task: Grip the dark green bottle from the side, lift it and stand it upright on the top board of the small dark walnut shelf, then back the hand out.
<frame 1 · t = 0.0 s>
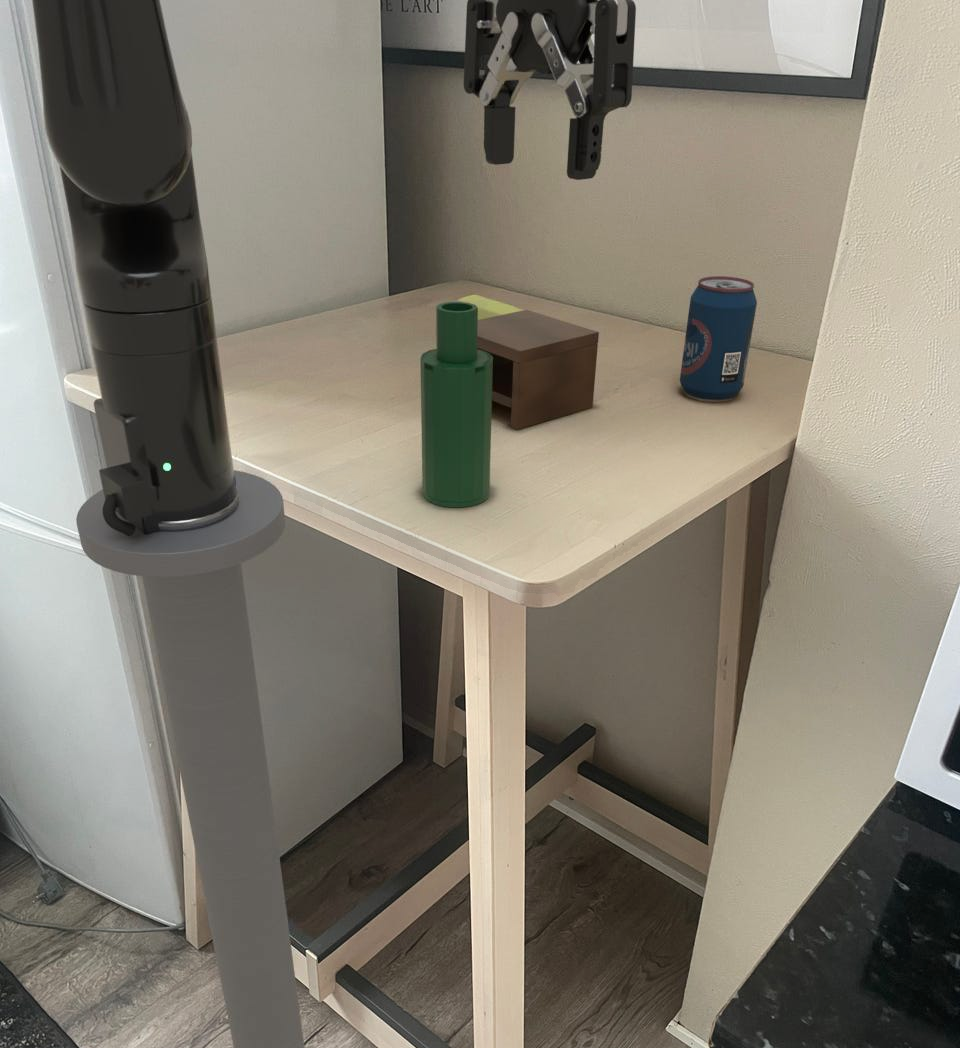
hand: (539, 170, 70), 26 cm above the table, tool pointing down, fingers open, 8 cm apart
yellow green block: (509, 342, 126), on the table
soda can: (709, 395, 110), on the table
bottle: (456, 493, 86), on the table
shelf: (520, 404, 106), on the table
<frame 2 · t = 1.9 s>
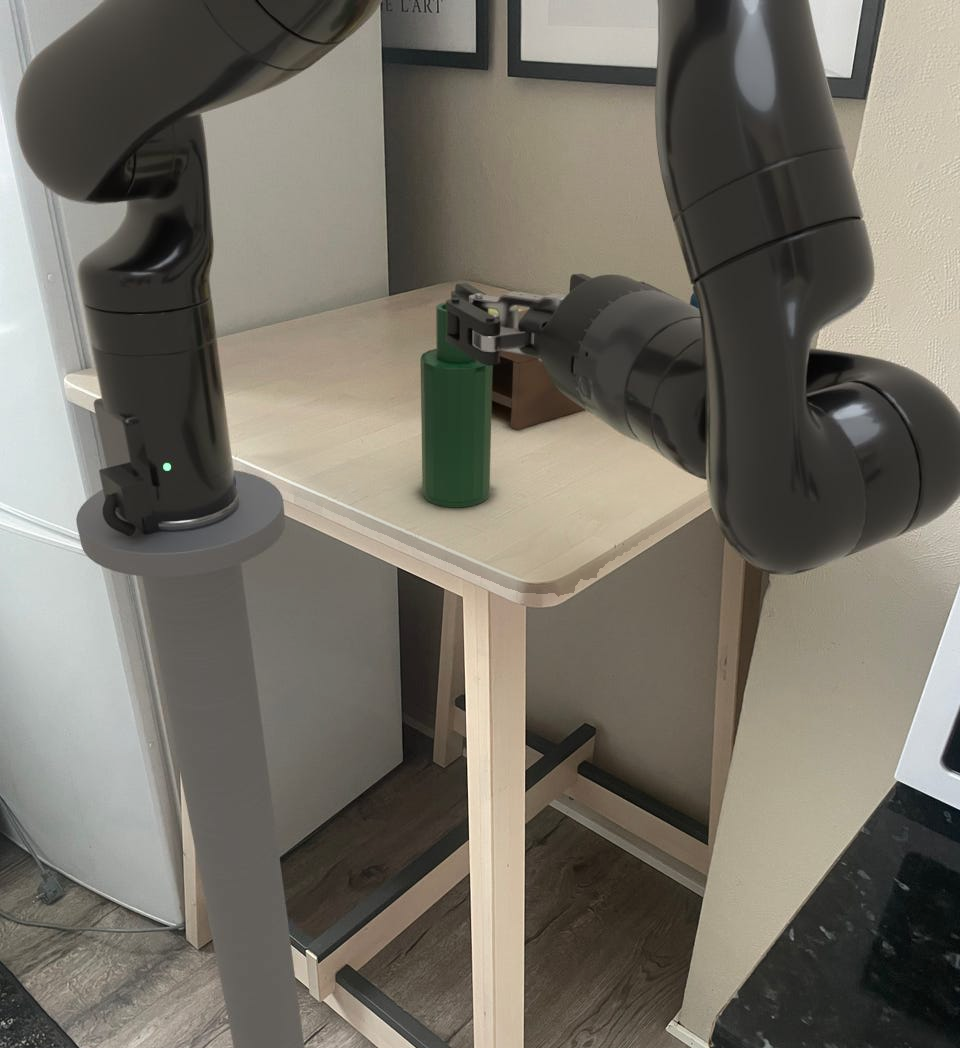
hand: (517, 293, 67), 20 cm above the table, tool horizontal, fingers open, 8 cm apart
nothing on the table moved.
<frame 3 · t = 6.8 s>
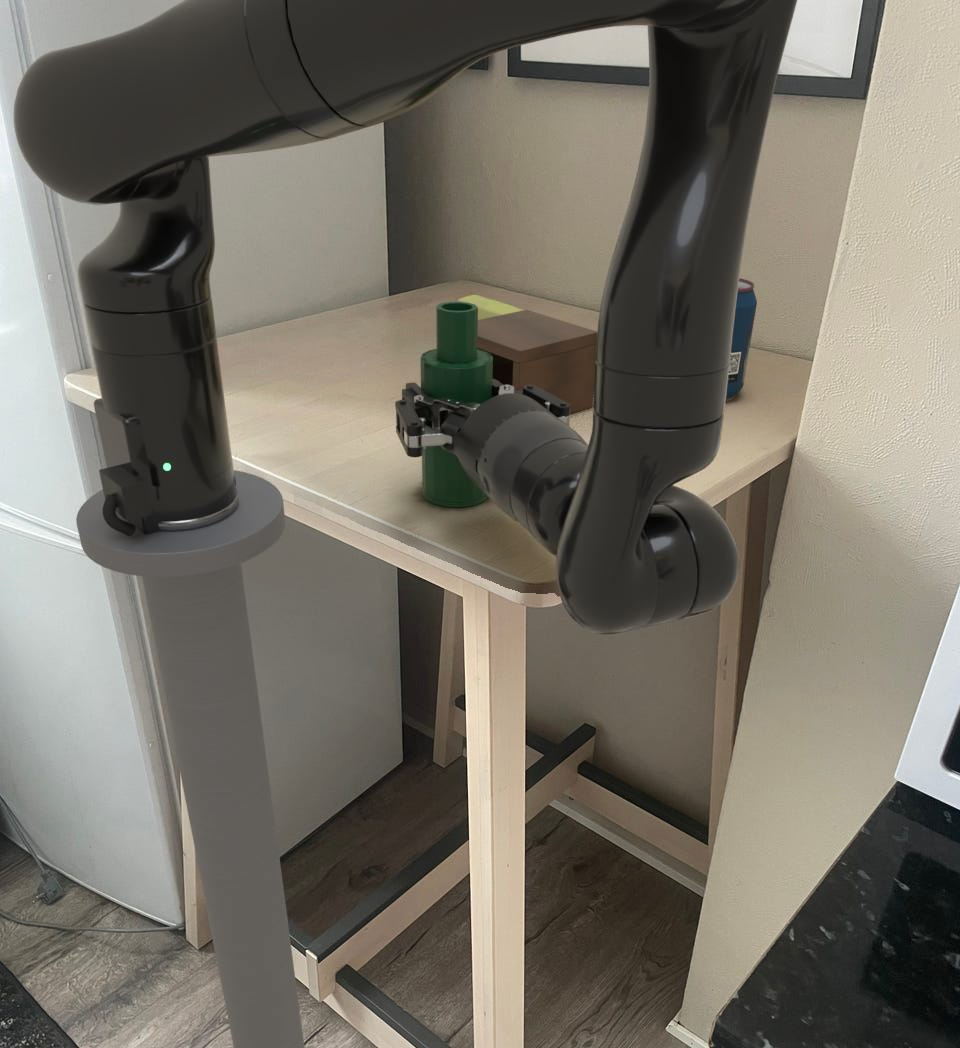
hand: (445, 390, 83), 9 cm above the table, tool horizontal, fingers closed on bottle, 6 cm apart
bottle: (456, 493, 86), on the table, touching gripper
everything else where it was.
when the fingers open (17 cm above the table, at t = 14.2 s): bottle stays where it is, resting on shelf.
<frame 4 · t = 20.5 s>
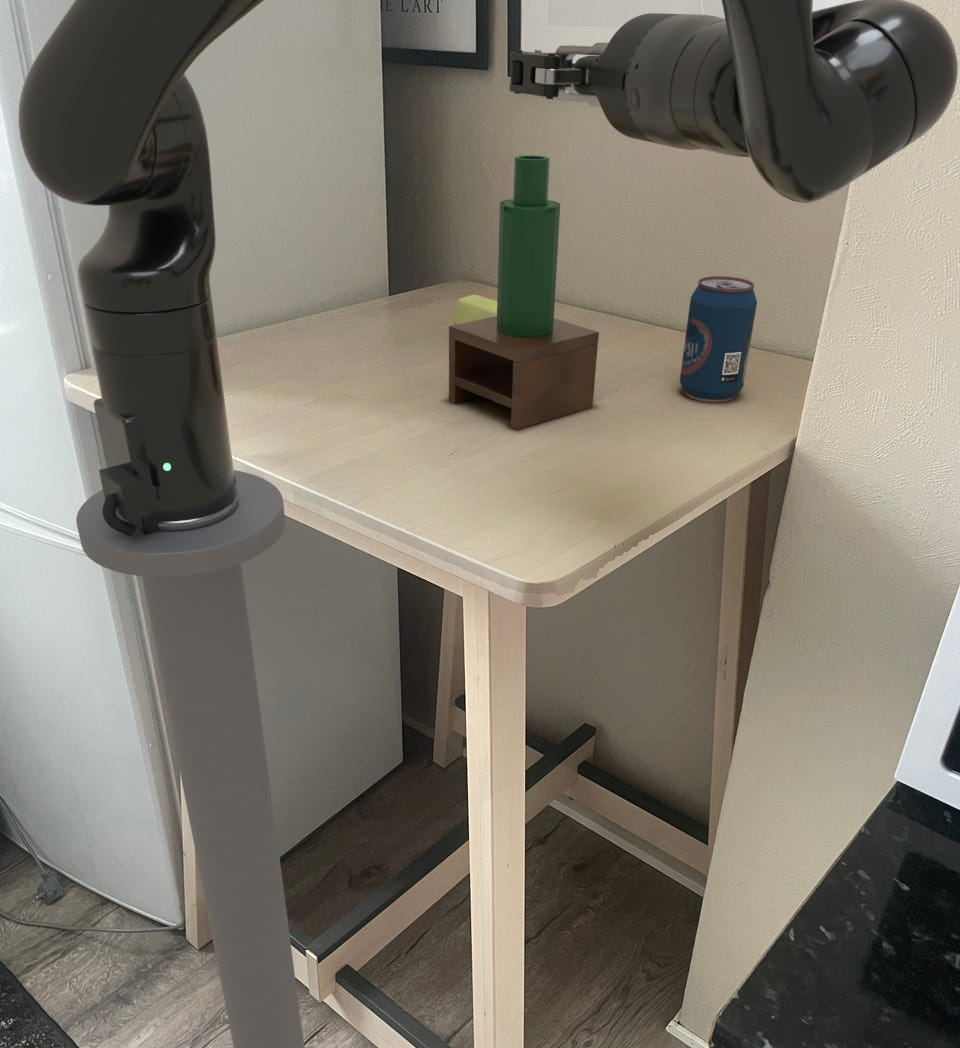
hand: (567, 67, 77), 32 cm above the table, tool horizontal, fingers open, 8 cm apart
bottle: (524, 329, 101), point 8 cm above the table, touching shelf
everything else where it was.
at the end: bottle inside the target area on the shelf (0.1 cm from its centre), point 8.0 cm above the shelf's base; bottle tilted 0°; the gripper is holding nothing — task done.
